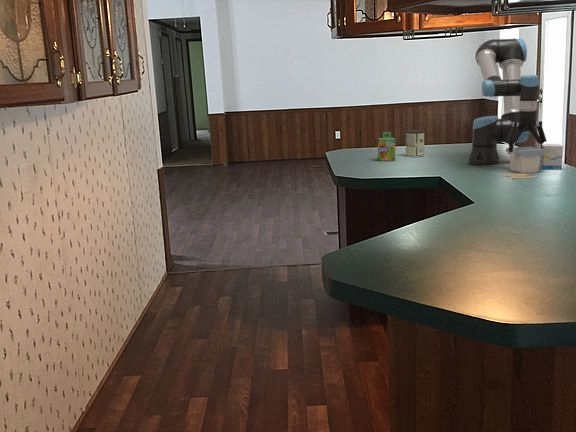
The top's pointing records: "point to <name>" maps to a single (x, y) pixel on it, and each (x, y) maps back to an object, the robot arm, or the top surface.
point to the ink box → (551, 157)
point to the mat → (519, 176)
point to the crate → (524, 164)
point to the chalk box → (386, 147)
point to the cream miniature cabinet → (415, 143)
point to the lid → (528, 151)
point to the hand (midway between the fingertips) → (524, 158)
